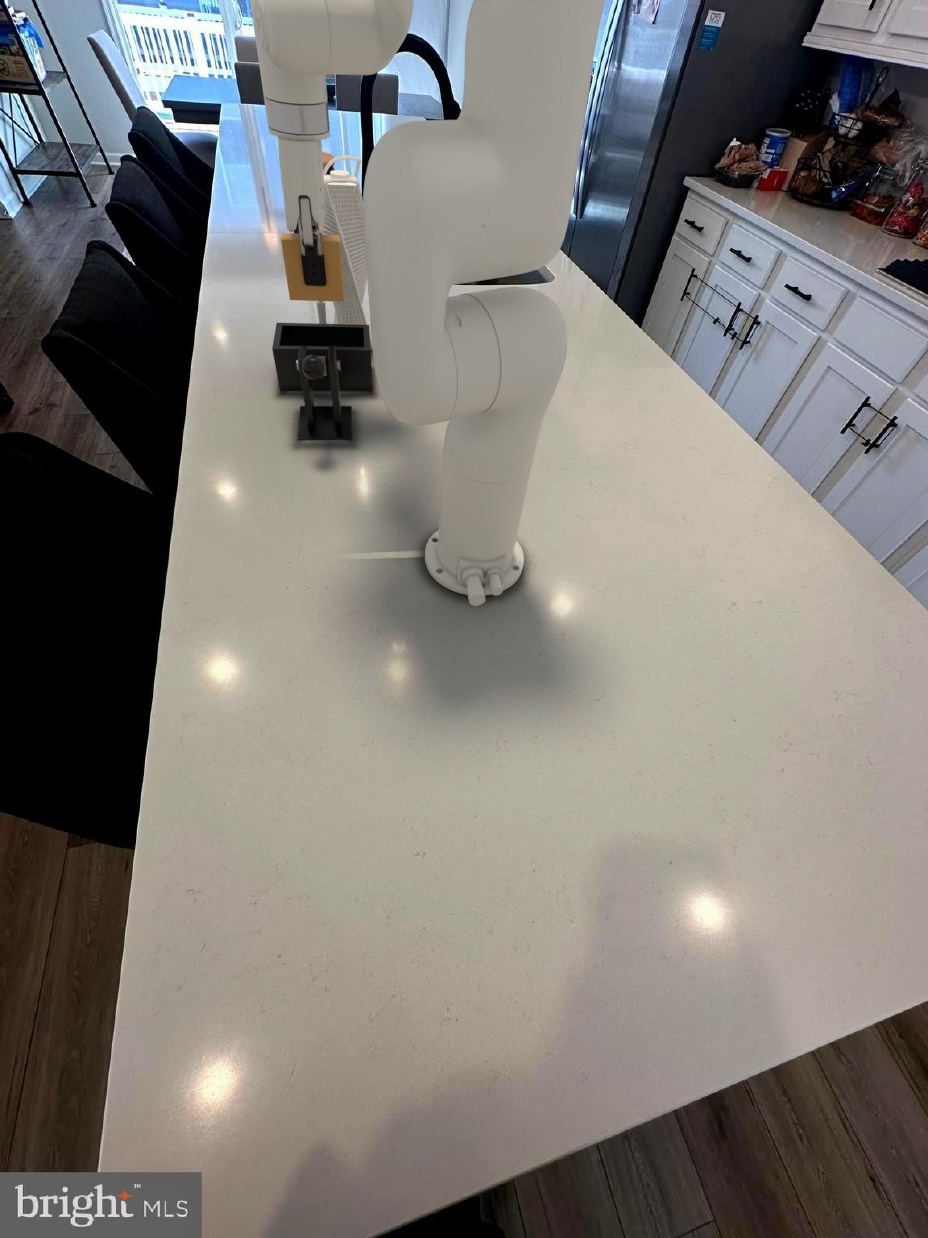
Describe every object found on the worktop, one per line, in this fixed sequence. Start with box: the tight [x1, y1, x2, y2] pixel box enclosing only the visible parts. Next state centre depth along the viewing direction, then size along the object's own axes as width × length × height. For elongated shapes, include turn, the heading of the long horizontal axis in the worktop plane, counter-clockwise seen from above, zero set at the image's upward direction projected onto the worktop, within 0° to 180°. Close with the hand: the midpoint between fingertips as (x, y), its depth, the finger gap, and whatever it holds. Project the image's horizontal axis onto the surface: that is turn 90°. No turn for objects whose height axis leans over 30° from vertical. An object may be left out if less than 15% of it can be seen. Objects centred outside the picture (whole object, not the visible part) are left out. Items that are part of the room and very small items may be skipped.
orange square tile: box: [280, 232, 344, 302], centre depth 82 cm, size 2×8×8 cm, turn 98°
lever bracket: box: [296, 346, 353, 441], centre depth 82 cm, size 9×8×12 cm
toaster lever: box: [302, 355, 328, 380], centre depth 76 cm, size 11×3×3 cm, turn 8°
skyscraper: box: [315, 154, 373, 351], centre depth 93 cm, size 8×8×28 cm
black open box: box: [271, 322, 374, 393], centre depth 93 cm, size 9×15×8 cm, turn 98°
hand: (316, 279), depth 83 cm, fingers closed on orange square tile, 2 cm apart
